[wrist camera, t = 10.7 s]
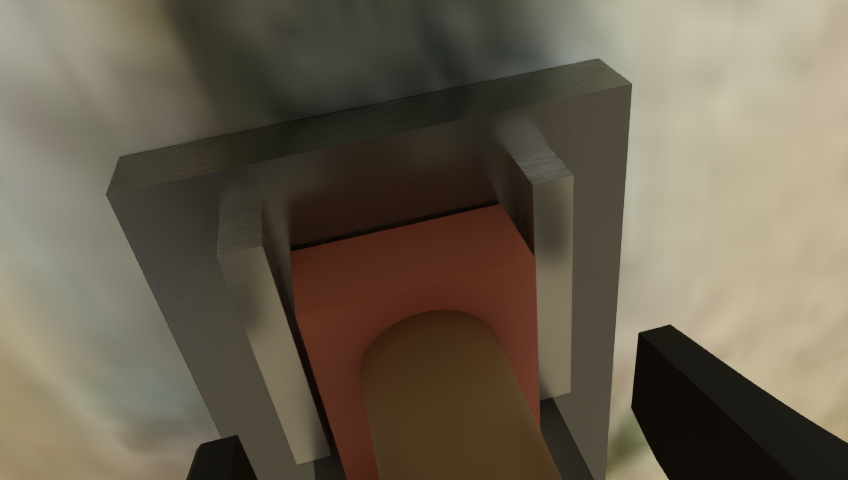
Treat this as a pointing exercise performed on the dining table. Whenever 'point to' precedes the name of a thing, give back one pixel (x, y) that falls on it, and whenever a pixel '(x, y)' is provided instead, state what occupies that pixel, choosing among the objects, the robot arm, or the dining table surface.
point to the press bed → (377, 211)
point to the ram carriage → (431, 354)
